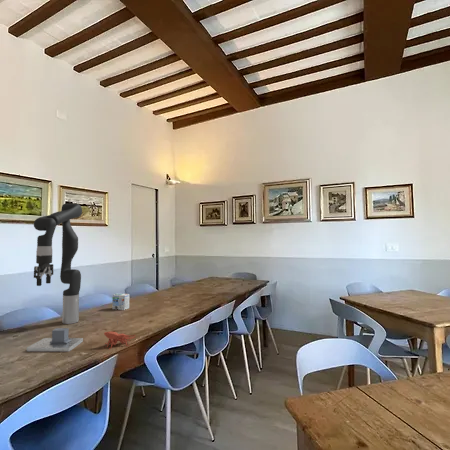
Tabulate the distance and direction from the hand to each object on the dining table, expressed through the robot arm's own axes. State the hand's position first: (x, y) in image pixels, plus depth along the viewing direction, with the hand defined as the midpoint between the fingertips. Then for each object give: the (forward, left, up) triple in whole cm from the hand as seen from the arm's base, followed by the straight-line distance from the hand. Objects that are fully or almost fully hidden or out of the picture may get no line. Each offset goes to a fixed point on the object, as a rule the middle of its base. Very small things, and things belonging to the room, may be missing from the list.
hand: (43, 284), depth 169 cm
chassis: (+14, +15, -28) cm, 35 cm away
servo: (+14, +17, -28) cm, 35 cm away
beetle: (+11, +45, -29) cm, 55 cm away
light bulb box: (-68, +19, -28) cm, 76 cm away
